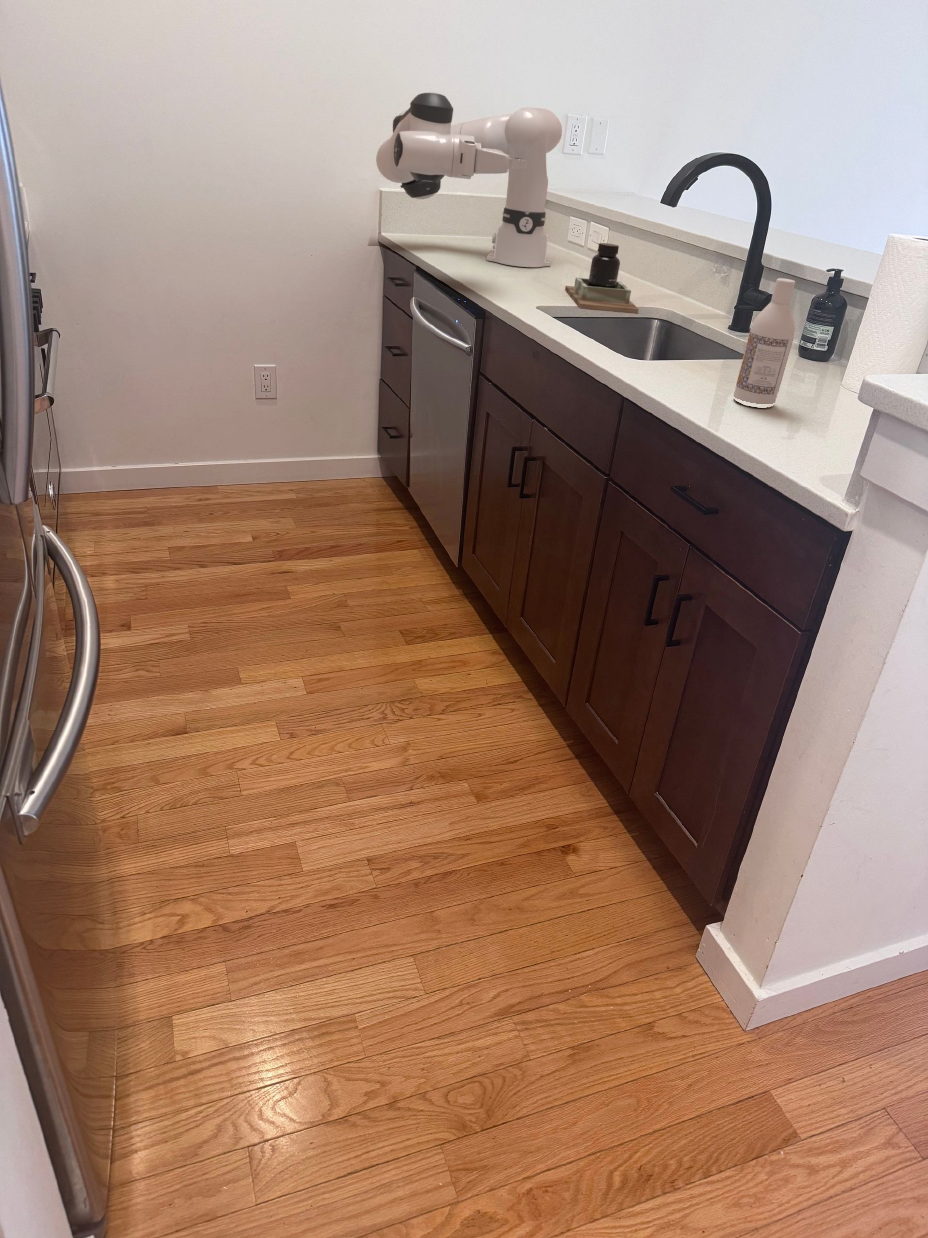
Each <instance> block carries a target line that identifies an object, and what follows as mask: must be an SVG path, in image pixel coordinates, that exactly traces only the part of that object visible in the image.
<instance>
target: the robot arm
mask: <svg viewBox="0 0 928 1238" xmlns="http://www.w3.org/2000/svg"><path fill="white" fill-rule="evenodd" d="M409 105H410V107H408V109H405V110H404V111H402V112H401V113H399V114H398V115H396V116H394V118H393V120H392V134H391V136H390V137H389V138H388V139H386V140H385V141H384V142H383V143H382V144H381V145H380V146H379V148H378V150H377V152H376V159H375V160H376V161H375V163H376V167H377V169H378V172H379V173H380V174H381V175H382V177H384V178H385V179H386V180H389V182H393V183H397V184H401V185H400V186H399V187H400V188H401V189H403V190H404V191H405V193H406V194H407V195H408V196H409V197H410V198H412V199H413V198H414V199H417V200H427V199H430V198H431V197H433V196H434V195H435V194H437V193H439V192H440V190H441V182H442V179H443V178H444V177H445V176H446V177H448V178H454V179H455V178H457V179H464V180H465V179H466V180H471V178H472V177H474V175H482V174H483V175H485V174H486V175H488V174H489V175H490V174H494V175H496V174H498V175H501V174H506V173H508V176H507V177H508V181H507V188H506V198H505V199H506V201H505V207H503V211H502V218H501V220H502V223H501V225H500V226H499V227H498V229H496V232H494V234H493V235H492V239H491V243H492V244H493V245H492V250H491V251H490V252H489V253H488V254H487V256H486V258H485V259H486V260H485V261H489V262H495V263H499V264H502V265H507V266H513V267H522V268H541V267H551V266H552V262H551V261H549V260H548V259H547V251H548V239H549V235H548V233H547V232H546V230H545V228H544V226H545V225H546V224H545V223H546V219H547V218H546V211H545V208H546V203H547V202H546V201H547V193H548V186H549V177H548V172H547V154H548V153H550V152H551V151H552V150H554V149H555V148H556V147H557V146H558V145H559V143H560V141H561V138H562V134H563V128H562V124H561V121H560V119H559V118H558V116H557V115H556V114H555V113H554V112H553V111H551V110H550V109H547V108H539V107H529V106H525V107H522V108H519V109H518V110H516V111H514V112H513V113H509V114H503V115H502V114H501V115H494V116H489V117H484V118H479V119H475V120H469V121H464V122H461V123H457V124H454V125H452V122H453V116H454V107H453V106H452V104H451V102H450V100H449V99H448V97H446V96H445V95H444V94H442V93H438V92H434V91H433V92H432V91H431V92H430V91H427V92H422V93H418V94H417V95H416V96H415V97H413V99H412V100H411V102H410V103H409Z"/></svg>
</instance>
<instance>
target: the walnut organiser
mask: <svg viewBox="0 0 928 1238" xmlns="http://www.w3.org/2000/svg"><path fill="white" fill-rule="evenodd" d="M588 281H589V278H584V277H575V279H574V286H573V285H565V287H564V288H565V289H564V290H565V291H566V293H567V294H568V295H569V297H570V298H571V299H572V300H573V302H574V303H575V304H576V305H577V306H578V308H579V309H584V310H593V311H594V310H595V311H608V312H617V313H618V312H619V313H628V314H629V313H630V314H639V310H640V309H639V308H638V307H637V306H636V305H635V304H634V303H633V302H632V301H631V299H630V298H631V294H632V290H631V289H630V288H628V287H627V286H626V285H625V284H624V283H623V282H622V281H618V280H617V283H616V289H614V288H603V287H592V286H588Z"/></svg>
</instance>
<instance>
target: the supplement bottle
mask: <svg viewBox="0 0 928 1238" xmlns="http://www.w3.org/2000/svg"><path fill="white" fill-rule="evenodd" d="M597 248H598V249H597V250H596V251H597V254H595V255H594V256H593V257H592V259H591V264H590V270H589V275H588V276H589V277H588V279H589V281H588V286H592V287H603V288H614V289H616V283H617V281H618V277H619V273H620V272H619V271H620V265H621V260H620V259H619V257H618V256H617V255H618V254H619V248H620V246H619V245H618V244H614V243H607V242H599V243H598V247H597Z"/></svg>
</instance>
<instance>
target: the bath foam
mask: <svg viewBox="0 0 928 1238" xmlns="http://www.w3.org/2000/svg"><path fill="white" fill-rule="evenodd" d="M795 285H796V281H795V280H793V279H789V278H783V277H780V278H777V279H776V281H775V284H774V287H773V292H772V295H771V300H770V302H769V303H768V304H767V305H766V306H765V307H764V308H762V310H761V311H760V312H759V314H758V315H757V316H756V317H755V319H754V320H753V323H752V325H751V327H750V330H749V333H748V337H747V341H746V345H745V350H744V353H743V357H742V361H741V364H740V368H739V372H738V375H737V376H738V377H737V380H736V385H735V389H734V393H733V396H734V397H735V398H737V399H740V400H742V401H746V402H750V403H756V404H773V403H775V404H776V400H777V397H778V393H779V390H780V387H781V384H782V380H783V376H784V374H785V370H786V366H787V363H788V359H789V356H790V351H791V348H792V345H793V341H794V336H795V330H796V329H795V327H796V325H795V320H794V319H795V318H794V316H793V313H792V309H791V306H790V304H791V300H792V297H793V292H794V288H795Z"/></svg>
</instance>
